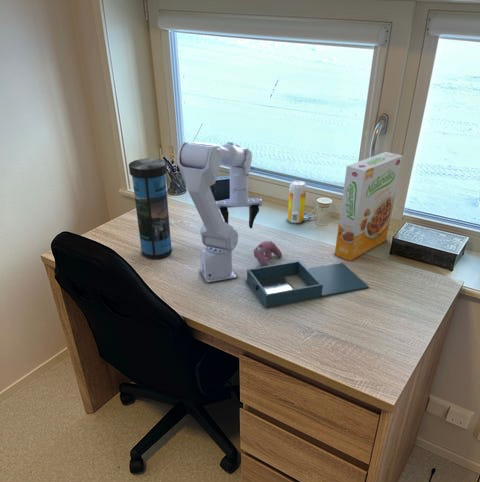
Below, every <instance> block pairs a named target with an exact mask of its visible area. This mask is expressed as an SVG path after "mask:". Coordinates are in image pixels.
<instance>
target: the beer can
mask: <svg viewBox="0 0 480 482" xmlns="http://www.w3.org/2000/svg"><path fill="white" fill-rule="evenodd" d="M306 195H307V184H306V182H305V181H303V180H293V181H291V182H290V185H289V193H288V206H287V207H288V208H287V220H288V222H290V223H291V224H301V223H302V222H303V221H304V217H305V208H306Z"/></svg>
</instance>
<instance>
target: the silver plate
mask: <svg viewBox="0 0 480 482" xmlns="http://www.w3.org/2000/svg"><path fill="white" fill-rule="evenodd" d="M258 282H259V283H260V284H261V286H262V287H263V288H264V290H265V291H266V292H267V294H270V293H275V292H281V291H286V290H291V289H293V288H292V287H291V285H290V284H289V283H288V281H287V280H286V279H285V278H284V276H281V277H275V278H270V279H264V280H258Z"/></svg>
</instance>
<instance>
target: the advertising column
mask: <svg viewBox="0 0 480 482" xmlns="http://www.w3.org/2000/svg"><path fill="white" fill-rule="evenodd" d="M167 166H168V165H167V162H166V161H165V160H163V159H160V158H139V159H135V160H133V161H130V162H129V164H128V171H129V175H130V176H131V179H132V186H133V194H134V195H133V196H134V203H135V209H136V210H135V211H136V218H137V226H138V233H139V243H140V251H141V256H142V257H144V258H145V259H149V260H161V259H165V258H167V257H169V256H170V255H171V254H172V249H173V248H172V239H171V238H172V237H171V227H170V226H171V225H170V214H169V202H168V188H167V179H166V174H167V172H168V168H167Z"/></svg>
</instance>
